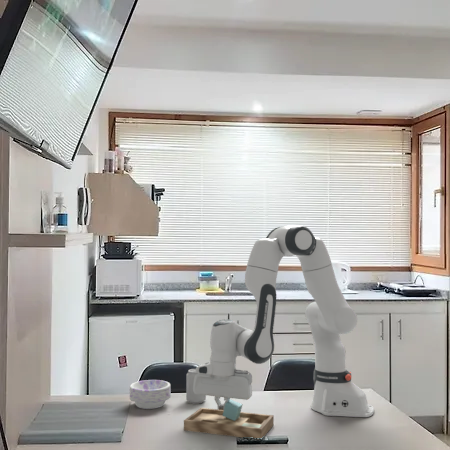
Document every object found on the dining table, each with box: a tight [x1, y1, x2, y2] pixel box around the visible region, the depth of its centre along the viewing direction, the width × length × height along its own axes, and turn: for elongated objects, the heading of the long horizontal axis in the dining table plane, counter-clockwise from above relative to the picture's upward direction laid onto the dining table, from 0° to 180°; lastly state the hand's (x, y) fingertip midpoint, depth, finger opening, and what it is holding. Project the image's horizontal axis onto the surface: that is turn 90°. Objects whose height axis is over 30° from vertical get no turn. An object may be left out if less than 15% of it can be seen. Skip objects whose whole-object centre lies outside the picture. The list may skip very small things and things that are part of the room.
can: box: [185, 368, 207, 405], centre depth 214 cm, size 8×8×12 cm
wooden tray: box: [183, 407, 275, 438], centre depth 183 cm, size 26×15×3 cm, turn 71°
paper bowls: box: [129, 379, 172, 410], centre depth 209 cm, size 15×15×8 cm
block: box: [223, 398, 243, 421], centre depth 187 cm, size 4×4×4 cm
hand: (222, 409), depth 188 cm, fingers closed
